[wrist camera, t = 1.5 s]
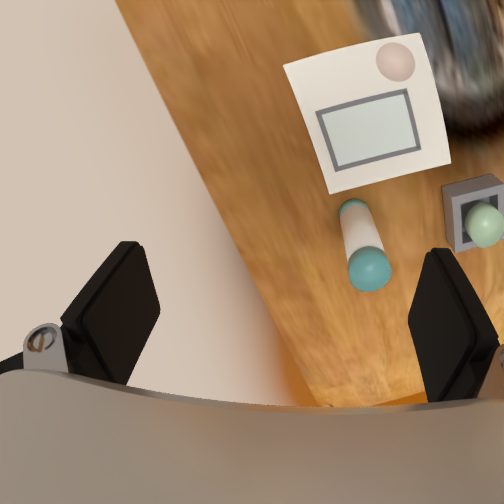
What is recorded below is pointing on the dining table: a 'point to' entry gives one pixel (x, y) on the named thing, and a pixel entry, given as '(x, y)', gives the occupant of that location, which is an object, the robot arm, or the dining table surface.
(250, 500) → the robot arm
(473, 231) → the button
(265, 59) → the dining table surface
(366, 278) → the marker
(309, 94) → the sheet
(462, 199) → the button housing
